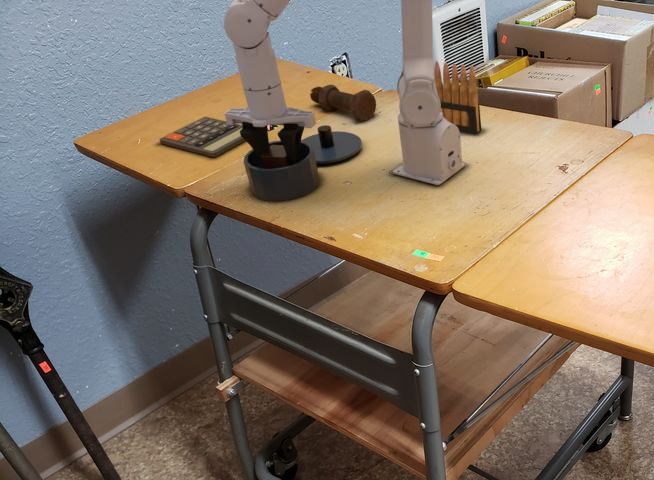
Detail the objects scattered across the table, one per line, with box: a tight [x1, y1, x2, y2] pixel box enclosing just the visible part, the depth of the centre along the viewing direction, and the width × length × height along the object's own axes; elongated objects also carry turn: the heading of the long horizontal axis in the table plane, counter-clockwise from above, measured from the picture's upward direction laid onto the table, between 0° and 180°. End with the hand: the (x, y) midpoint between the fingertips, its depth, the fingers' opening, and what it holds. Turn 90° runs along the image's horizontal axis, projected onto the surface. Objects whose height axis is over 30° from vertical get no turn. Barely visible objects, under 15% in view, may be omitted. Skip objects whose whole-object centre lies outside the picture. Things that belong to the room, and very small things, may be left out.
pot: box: [243, 139, 320, 202], centre depth 116 cm, size 11×11×5 cm
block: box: [261, 145, 289, 169], centre depth 116 cm, size 4×4×4 cm
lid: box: [301, 124, 363, 165], centre depth 126 cm, size 12×12×4 cm
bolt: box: [309, 84, 377, 122], centre depth 140 cm, size 6×5×15 cm
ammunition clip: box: [433, 60, 482, 135], centre depth 127 cm, size 11×2×12 cm, turn 60°
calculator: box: [159, 116, 247, 158], centre depth 135 cm, size 12×1×15 cm
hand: (281, 166), depth 116 cm, fingers closed on block, 4 cm apart
